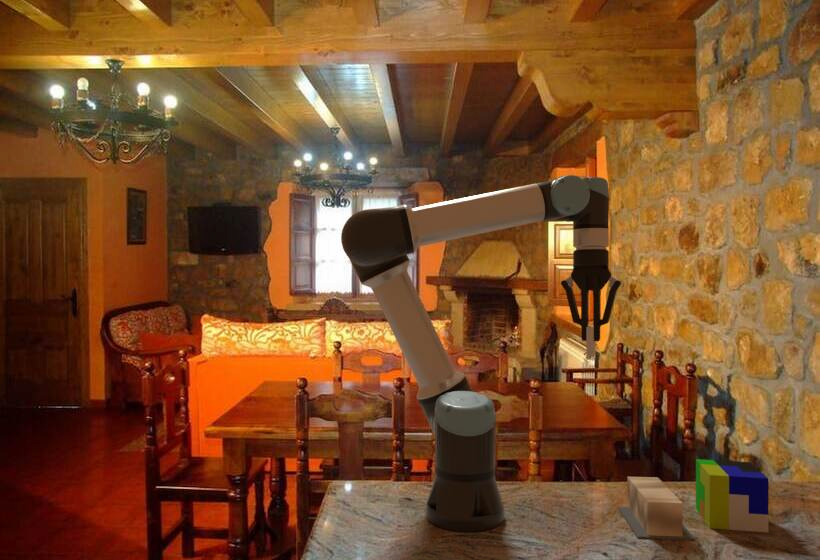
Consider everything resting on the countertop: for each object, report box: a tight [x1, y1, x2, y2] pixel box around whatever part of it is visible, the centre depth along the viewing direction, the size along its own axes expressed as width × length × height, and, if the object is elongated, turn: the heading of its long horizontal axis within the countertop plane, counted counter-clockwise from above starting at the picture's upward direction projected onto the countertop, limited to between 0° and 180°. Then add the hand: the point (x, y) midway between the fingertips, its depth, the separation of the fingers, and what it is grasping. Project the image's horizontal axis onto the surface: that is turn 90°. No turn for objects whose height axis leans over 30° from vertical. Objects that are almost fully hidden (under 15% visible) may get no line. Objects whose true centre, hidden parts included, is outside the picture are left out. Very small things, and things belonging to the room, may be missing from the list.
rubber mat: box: [617, 506, 696, 541], centre depth 116 cm, size 14×10×1 cm
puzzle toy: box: [695, 458, 769, 533], centre depth 118 cm, size 10×10×10 cm
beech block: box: [626, 476, 684, 537], centre depth 117 cm, size 6×6×14 cm
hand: (590, 355), depth 135 cm, fingers closed
